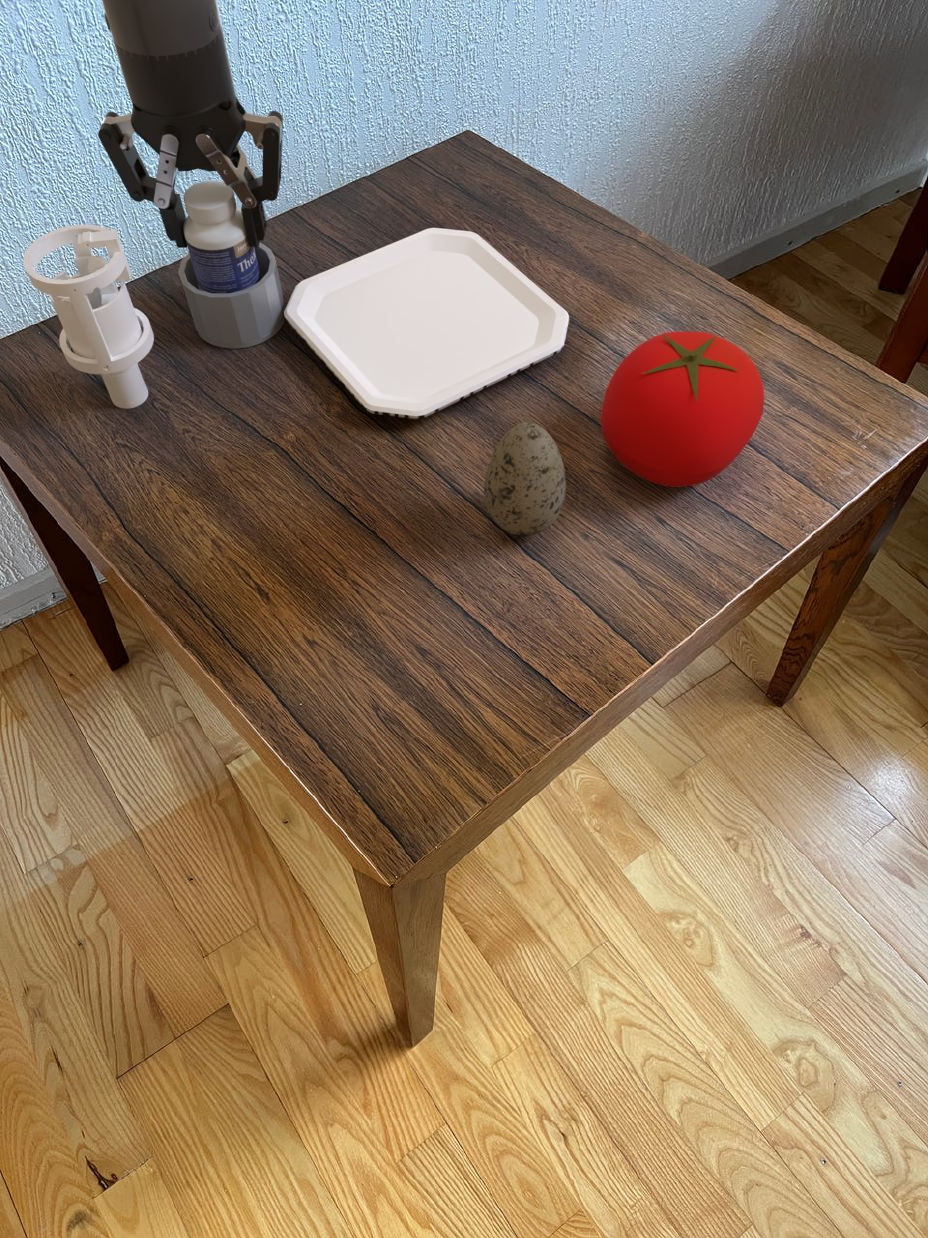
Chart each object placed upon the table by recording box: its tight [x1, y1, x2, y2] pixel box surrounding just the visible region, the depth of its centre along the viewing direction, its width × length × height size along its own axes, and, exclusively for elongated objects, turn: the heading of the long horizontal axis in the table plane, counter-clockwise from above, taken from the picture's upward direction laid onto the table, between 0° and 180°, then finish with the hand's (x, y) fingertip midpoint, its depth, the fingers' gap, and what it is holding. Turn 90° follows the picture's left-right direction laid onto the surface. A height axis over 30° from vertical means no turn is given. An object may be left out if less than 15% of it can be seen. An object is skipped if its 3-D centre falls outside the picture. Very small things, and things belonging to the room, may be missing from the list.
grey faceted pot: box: [178, 242, 286, 350], centre depth 85 cm, size 8×8×6 cm
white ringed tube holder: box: [22, 224, 155, 410], centre depth 75 cm, size 7×7×15 cm
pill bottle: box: [182, 180, 261, 293], centre depth 81 cm, size 5×5×10 cm
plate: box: [284, 227, 570, 420], centre depth 85 cm, size 21×21×2 cm
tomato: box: [600, 330, 765, 488], centre depth 72 cm, size 11×12×10 cm
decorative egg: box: [483, 422, 567, 537], centre depth 69 cm, size 6×6×10 cm
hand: (219, 241), depth 80 cm, fingers closed on pill bottle, 5 cm apart
